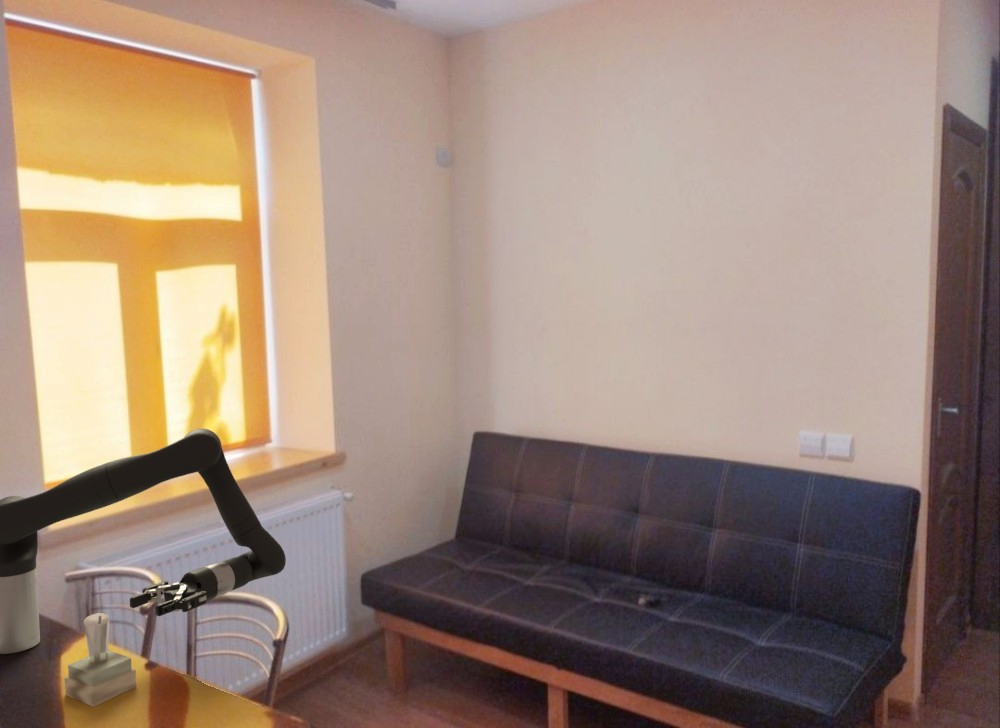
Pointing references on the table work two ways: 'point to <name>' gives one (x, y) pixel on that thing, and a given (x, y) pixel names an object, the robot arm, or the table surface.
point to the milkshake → (97, 637)
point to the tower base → (100, 689)
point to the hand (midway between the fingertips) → (143, 607)
